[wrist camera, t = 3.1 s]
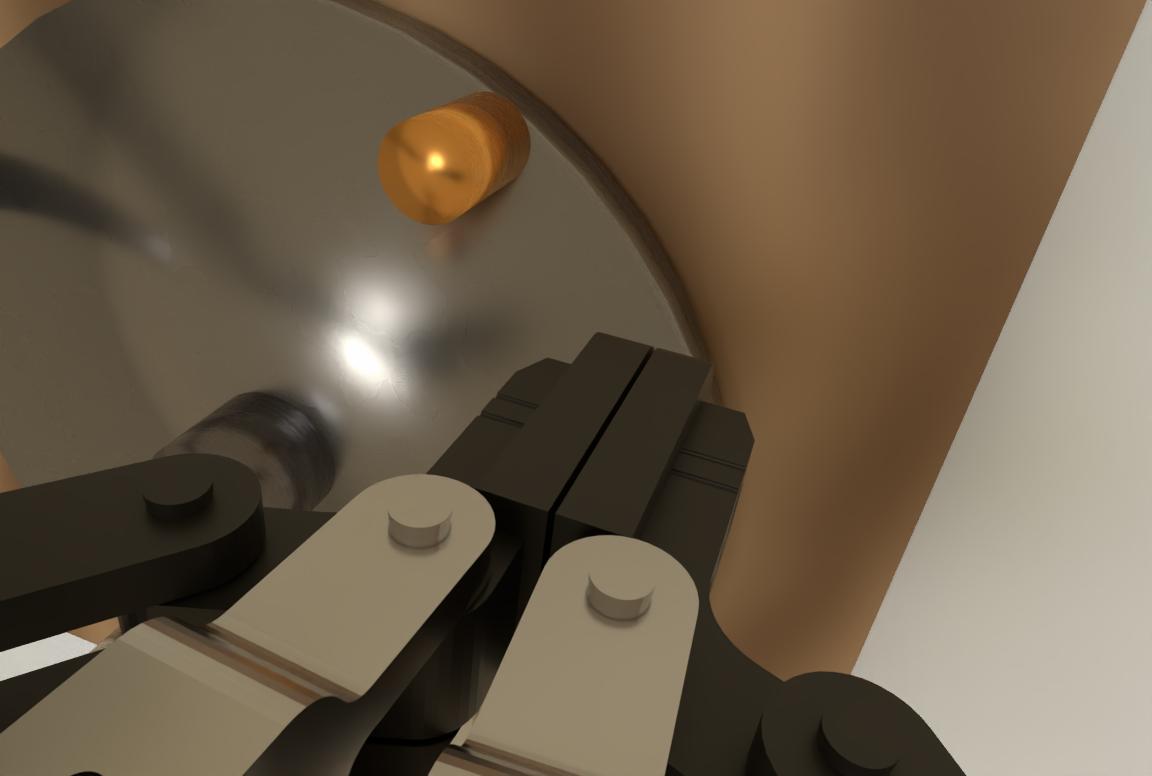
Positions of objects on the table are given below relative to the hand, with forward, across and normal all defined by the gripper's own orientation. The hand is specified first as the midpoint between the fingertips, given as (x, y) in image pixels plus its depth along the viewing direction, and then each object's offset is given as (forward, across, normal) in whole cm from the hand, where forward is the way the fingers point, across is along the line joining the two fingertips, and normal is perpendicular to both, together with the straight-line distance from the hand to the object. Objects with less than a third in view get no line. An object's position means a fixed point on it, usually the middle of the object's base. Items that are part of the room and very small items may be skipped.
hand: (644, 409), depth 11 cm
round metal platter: (+8, +10, +8) cm, 15 cm away
